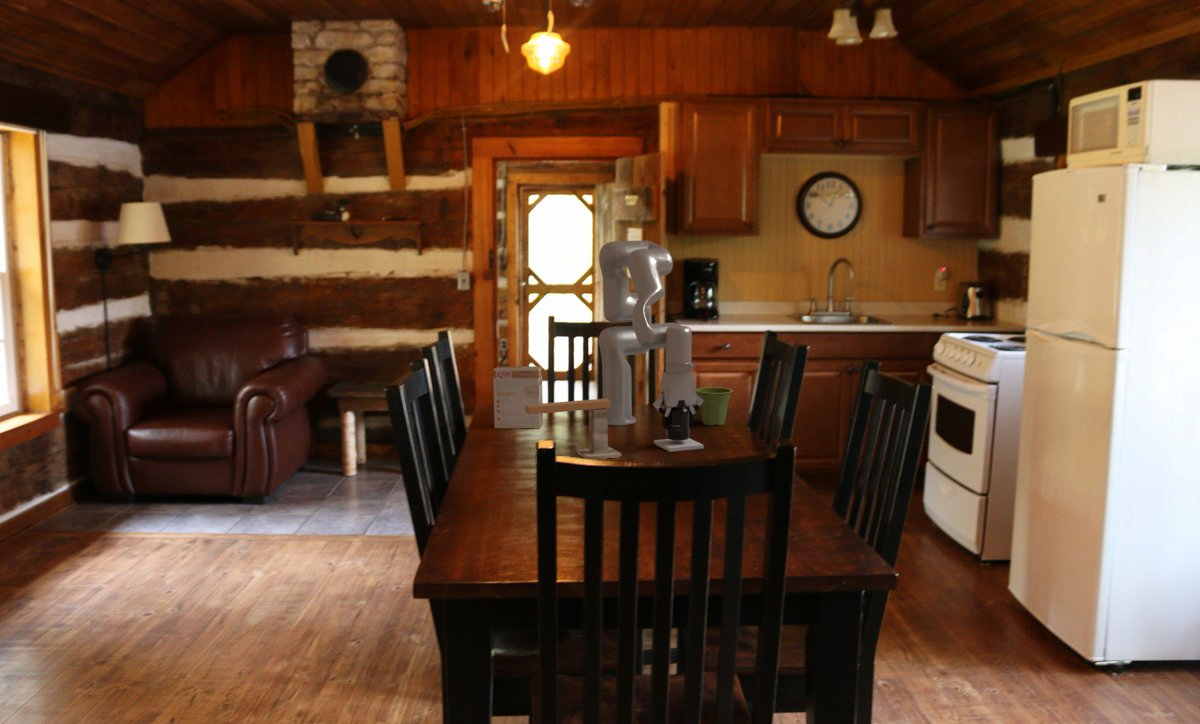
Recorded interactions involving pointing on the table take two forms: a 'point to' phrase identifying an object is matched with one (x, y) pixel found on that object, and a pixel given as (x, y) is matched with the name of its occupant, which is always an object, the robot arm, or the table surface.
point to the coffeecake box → (517, 396)
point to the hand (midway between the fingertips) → (678, 427)
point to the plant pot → (714, 404)
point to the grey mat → (678, 444)
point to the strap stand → (598, 437)
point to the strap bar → (567, 406)
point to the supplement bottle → (679, 422)
